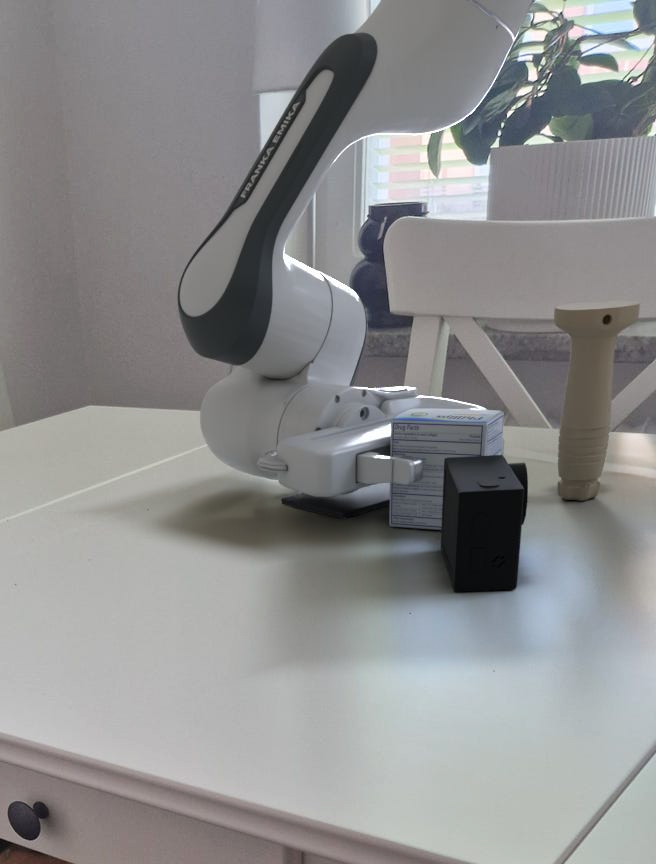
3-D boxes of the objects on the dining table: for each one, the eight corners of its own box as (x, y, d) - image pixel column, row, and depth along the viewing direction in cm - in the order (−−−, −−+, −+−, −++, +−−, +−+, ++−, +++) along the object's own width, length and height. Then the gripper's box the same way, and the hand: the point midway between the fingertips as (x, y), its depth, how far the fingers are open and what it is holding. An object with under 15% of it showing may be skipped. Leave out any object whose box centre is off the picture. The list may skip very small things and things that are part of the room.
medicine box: (499, 520, 95) (506, 409, 91) (481, 535, 92) (487, 421, 87) (407, 514, 99) (410, 406, 94) (387, 528, 96) (389, 417, 91)
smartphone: (391, 473, 111) (391, 468, 111) (455, 485, 106) (455, 480, 105) (281, 504, 105) (280, 498, 104) (343, 518, 99) (342, 513, 99)
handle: (625, 500, 97) (649, 304, 90) (549, 507, 97) (567, 311, 90) (604, 487, 101) (625, 298, 94) (531, 493, 101) (546, 305, 94)
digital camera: (534, 590, 80) (543, 486, 76) (454, 593, 81) (459, 491, 77) (512, 546, 89) (520, 452, 85) (440, 549, 89) (444, 456, 86)
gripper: (244, 423, 95) (363, 443, 85) (418, 383, 105) (544, 397, 95) (247, 501, 98) (363, 529, 88) (416, 455, 108) (537, 475, 98)
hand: (458, 460), depth 92 cm, fingers open, 8 cm apart
